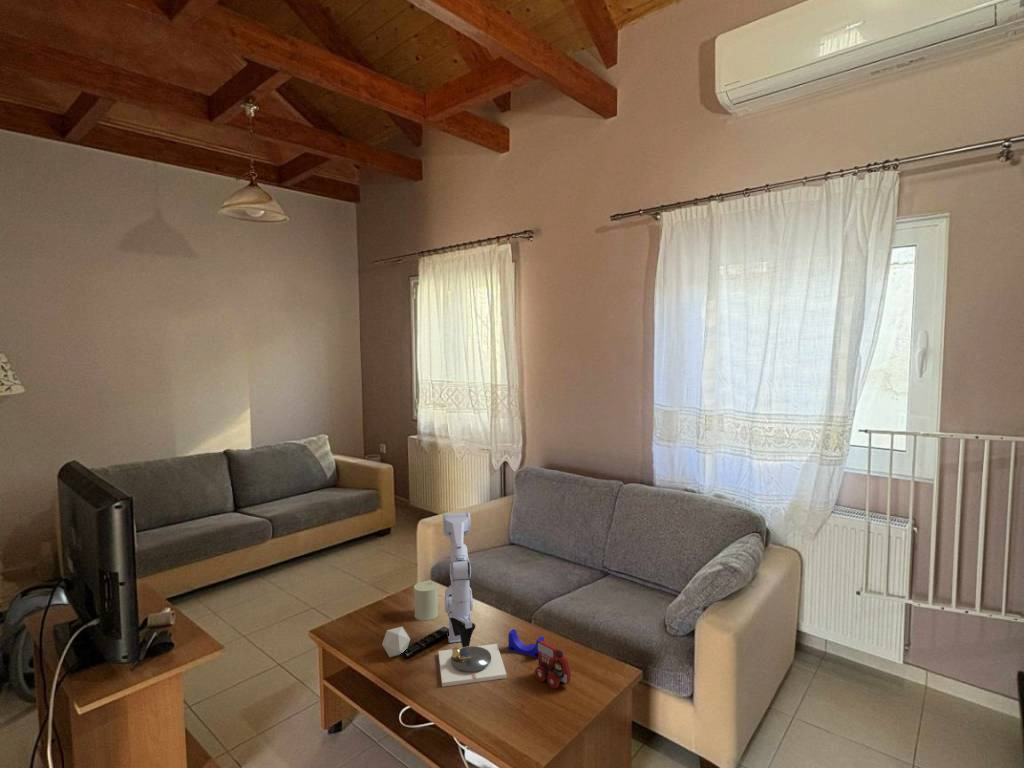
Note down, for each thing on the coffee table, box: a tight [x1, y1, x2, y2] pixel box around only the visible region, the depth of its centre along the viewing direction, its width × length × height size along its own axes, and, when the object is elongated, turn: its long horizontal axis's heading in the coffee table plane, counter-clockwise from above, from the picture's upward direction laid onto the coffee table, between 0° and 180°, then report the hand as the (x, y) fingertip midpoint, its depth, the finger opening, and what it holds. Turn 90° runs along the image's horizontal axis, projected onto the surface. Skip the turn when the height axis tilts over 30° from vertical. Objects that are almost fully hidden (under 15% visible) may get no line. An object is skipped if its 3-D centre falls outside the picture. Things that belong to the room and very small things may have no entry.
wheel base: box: [438, 643, 508, 688], centre depth 172 cm, size 18×20×2 cm
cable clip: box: [507, 629, 545, 659], centre depth 180 cm, size 12×4×6 cm, turn 63°
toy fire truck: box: [534, 640, 572, 689], centre depth 164 cm, size 7×12×10 cm, turn 44°
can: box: [413, 580, 439, 621], centre depth 207 cm, size 9×9×12 cm
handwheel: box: [451, 645, 491, 672], centre depth 172 cm, size 13×13×4 cm
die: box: [381, 626, 411, 658], centre depth 180 cm, size 8×9×10 cm
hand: (461, 640), depth 170 cm, fingers open, 7 cm apart
